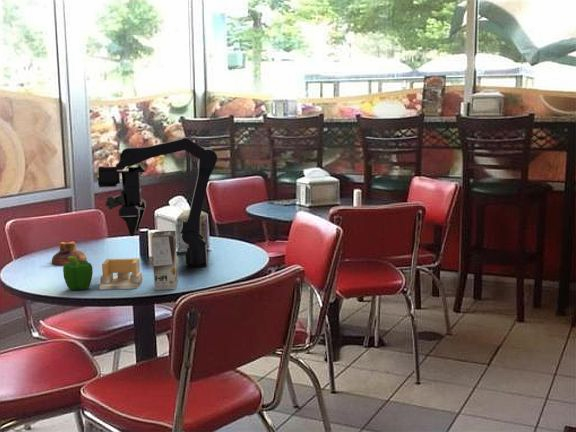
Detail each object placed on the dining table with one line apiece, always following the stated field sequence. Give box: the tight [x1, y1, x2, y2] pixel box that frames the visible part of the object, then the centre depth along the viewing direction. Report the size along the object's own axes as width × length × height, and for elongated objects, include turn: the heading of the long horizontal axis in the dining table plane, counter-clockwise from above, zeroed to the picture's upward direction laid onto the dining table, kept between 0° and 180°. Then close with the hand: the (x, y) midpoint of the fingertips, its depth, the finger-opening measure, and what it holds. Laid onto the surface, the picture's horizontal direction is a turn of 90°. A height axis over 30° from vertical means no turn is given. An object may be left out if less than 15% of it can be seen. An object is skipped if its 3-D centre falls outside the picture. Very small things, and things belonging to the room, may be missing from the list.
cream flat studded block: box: [99, 271, 144, 290], centre depth 216 cm, size 11×12×3 cm
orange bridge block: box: [101, 257, 141, 277], centre depth 216 cm, size 10×7×4 cm, turn 92°
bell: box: [50, 241, 87, 266], centre depth 247 cm, size 12×12×7 cm
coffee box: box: [151, 230, 179, 291], centre depth 212 cm, size 9×6×16 cm
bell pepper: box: [62, 256, 94, 291], centre depth 211 cm, size 8×8×10 cm
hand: (134, 233), depth 234 cm, fingers open, 9 cm apart
